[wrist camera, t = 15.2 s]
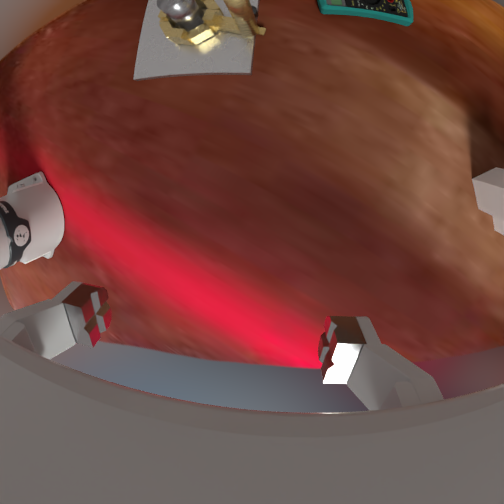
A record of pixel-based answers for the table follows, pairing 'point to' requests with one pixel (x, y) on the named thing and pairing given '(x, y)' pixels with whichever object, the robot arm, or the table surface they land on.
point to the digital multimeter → (371, 9)
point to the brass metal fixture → (213, 22)
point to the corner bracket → (491, 195)
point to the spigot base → (187, 56)
